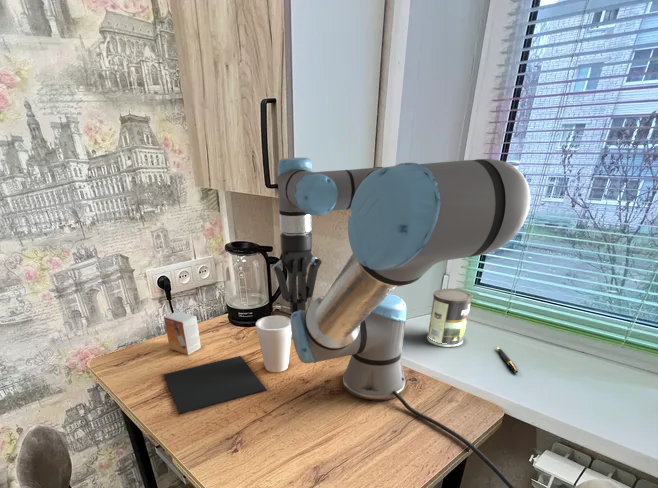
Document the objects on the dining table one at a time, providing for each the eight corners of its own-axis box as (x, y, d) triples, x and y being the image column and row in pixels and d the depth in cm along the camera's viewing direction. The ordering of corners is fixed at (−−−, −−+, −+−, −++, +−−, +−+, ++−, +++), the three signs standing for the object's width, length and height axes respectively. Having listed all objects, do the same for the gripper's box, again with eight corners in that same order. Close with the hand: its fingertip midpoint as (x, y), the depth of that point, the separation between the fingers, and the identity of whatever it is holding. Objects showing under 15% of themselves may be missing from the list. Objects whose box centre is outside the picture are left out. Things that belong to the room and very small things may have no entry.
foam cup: (289, 376, 109) (287, 331, 102) (255, 373, 110) (251, 329, 104) (296, 359, 117) (294, 316, 110) (264, 357, 118) (261, 314, 111)
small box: (169, 349, 125) (162, 316, 119) (183, 342, 129) (177, 310, 123) (188, 355, 121) (182, 322, 115) (201, 348, 125) (196, 315, 119)
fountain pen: (494, 349, 118) (496, 344, 117) (499, 349, 117) (500, 344, 117) (514, 374, 105) (515, 369, 105) (519, 374, 105) (520, 369, 105)
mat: (266, 390, 103) (266, 389, 103) (179, 414, 96) (179, 413, 96) (240, 357, 119) (240, 355, 119) (163, 375, 112) (163, 374, 111)
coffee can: (466, 336, 125) (476, 291, 117) (457, 350, 118) (467, 303, 110) (432, 329, 130) (439, 286, 122) (422, 342, 123) (428, 296, 115)
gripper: (313, 226, 103) (313, 314, 115) (264, 232, 98) (270, 323, 111) (328, 232, 97) (326, 324, 109) (276, 239, 93) (281, 334, 105)
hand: (298, 324), depth 110 cm, fingers closed
